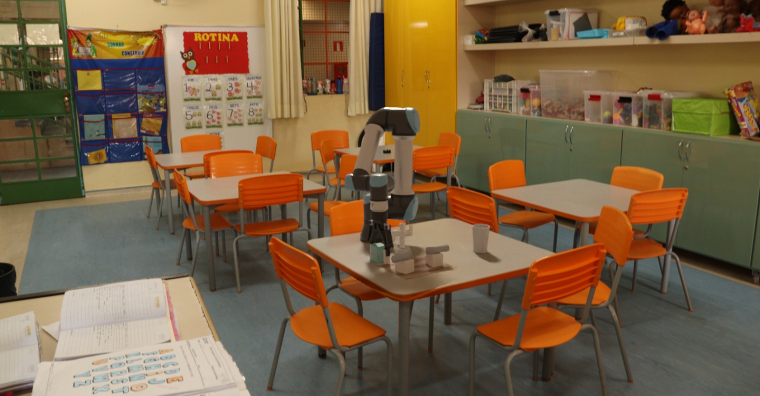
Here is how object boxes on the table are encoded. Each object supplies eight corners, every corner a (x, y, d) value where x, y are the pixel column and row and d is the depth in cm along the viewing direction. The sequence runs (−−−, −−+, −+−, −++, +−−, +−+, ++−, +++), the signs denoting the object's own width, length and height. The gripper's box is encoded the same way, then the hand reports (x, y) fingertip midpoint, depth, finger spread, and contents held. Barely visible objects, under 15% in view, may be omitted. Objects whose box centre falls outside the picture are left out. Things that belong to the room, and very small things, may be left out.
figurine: (392, 252, 285) (392, 220, 282) (412, 253, 285) (413, 221, 281) (391, 257, 278) (391, 224, 275) (412, 257, 277) (412, 225, 274)
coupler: (370, 262, 271) (370, 244, 270) (380, 260, 274) (380, 242, 273) (377, 265, 267) (377, 247, 265) (387, 263, 270) (387, 245, 268)
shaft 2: (443, 260, 270) (444, 242, 268) (450, 264, 265) (451, 246, 263) (423, 263, 266) (423, 245, 264) (430, 267, 260) (430, 249, 259)
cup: (468, 251, 287) (468, 226, 284) (477, 247, 293) (478, 223, 290) (482, 254, 282) (483, 229, 279) (492, 251, 287) (493, 225, 285)
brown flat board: (375, 267, 264) (375, 265, 264) (423, 257, 278) (423, 254, 278) (407, 281, 246) (407, 279, 246) (456, 269, 261) (456, 267, 260)
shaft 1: (399, 276, 249) (399, 257, 247) (388, 273, 253) (388, 254, 252) (415, 270, 256) (415, 252, 254) (404, 267, 260) (405, 249, 259)
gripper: (357, 207, 272) (358, 256, 276) (387, 215, 254) (387, 268, 258) (371, 205, 277) (372, 254, 280) (401, 213, 259) (402, 264, 263)
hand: (379, 260), depth 269 cm, fingers open, 10 cm apart
